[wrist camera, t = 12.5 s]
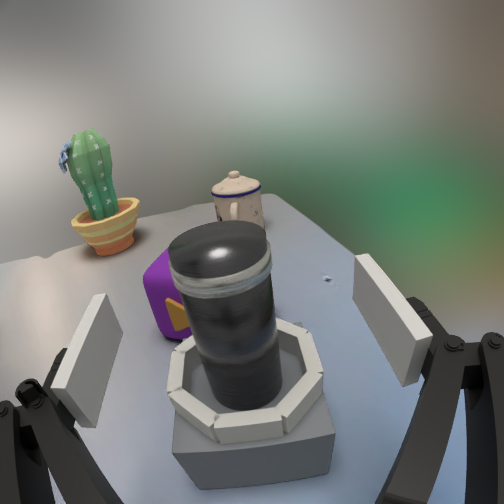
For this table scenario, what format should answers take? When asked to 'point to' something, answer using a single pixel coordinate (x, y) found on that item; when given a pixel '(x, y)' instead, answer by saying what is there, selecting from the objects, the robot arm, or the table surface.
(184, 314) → the toy camera
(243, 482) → the camera body block
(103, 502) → the robot arm
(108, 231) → the potted cactus
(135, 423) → the table surface
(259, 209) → the teacup with lid
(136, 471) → the table surface
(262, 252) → the lens
